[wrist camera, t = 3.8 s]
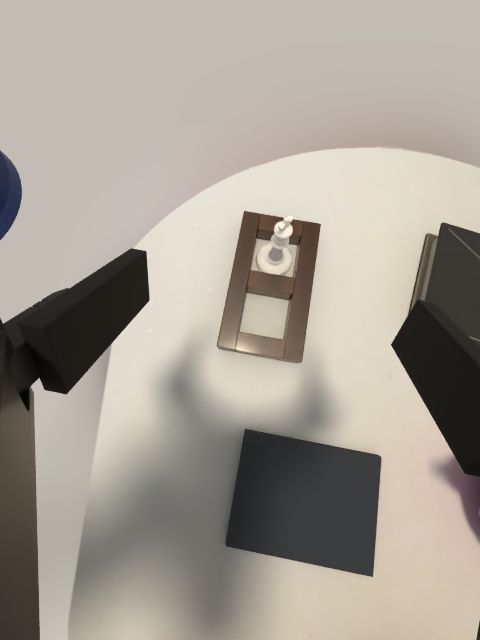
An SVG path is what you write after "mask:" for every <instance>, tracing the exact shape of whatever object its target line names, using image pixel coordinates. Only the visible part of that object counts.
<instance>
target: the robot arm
mask: <svg viewBox="0 0 480 640" xmlns="http://www.w3.org/2000/svg"><path fill="white" fill-rule="evenodd" d="M148 301H149V285H148V269H147V254H146V251H142V250H137V249H130V250H128V251H127V252H125V253H123V254H122V255H120V256H119V257H117V258H116V259H114V260H113V261H111V262H110V263H108V264H106V265H105V266H103V267H102V268H100V269H99V270H97V271H96V272H94V273H93V274H91V275H90V276H88V277H86V278H85V279H83V280H82V281H80V282H79V283H77V284H76V285H74V286H73V287H71V288H69V289H68V288H66V289H63V290H60V291H57V292H54V293H52V294H51V295H49V296H47V297H46V298H44V299H42V301H39V302H38V303H36V304H35V305H33V307H30V308H28V309H26V310H25V311H23V312H22V313H20V314H18V315H17V316H15V317H14V318H12V319H10V320H9V321H7V322H5V323H4V324H3V323H2V321H1V319H0V640H40V626H39V587H38V547H37V511H36V510H37V508H36V470H35V469H36V468H35V430H34V393H33V391H32V388H31V385H32V384H33V383H34V382H35V381H36V380H37V379H38V378H40V380H41V382H42V385H43V387H44V389H45V390H47V391H53V392H58V393H62V394H67V393H68V392H69V391H70V390H71V389H72V388H73V386H74V385H75V384H76V383H77V382H78V381H79V380H80V379H81V377H82V376H83V375H84V374H85V373H86V372H87V371H88V369H89V368H90V367H91V366H92V365H93V364H94V363H95V362H96V360H97V359H98V358H99V357H100V356H101V355H102V354H103V352H104V351H105V350H106V349H107V348H108V347H109V346H110V345H111V343H112V342H113V341H114V340H115V339H116V338H117V337H118V335H119V334H120V333H121V332H122V331H123V330H124V329H125V328H126V326H127V325H128V324H129V323H130V322H131V321H132V320H133V318H134V317H135V316H136V315H137V314H138V313H139V312H140V310H141V309H142V308H143V307H144V306H145V305H146V304H147V303H148ZM391 346H392V347H393V349H394V351H395V352H396V354H397V356H398V358H399V359H400V361H401V363H402V365H403V366H404V368H405V370H406V372H407V373H408V375H409V377H410V379H411V380H412V382H413V384H414V386H415V387H416V389H417V391H418V393H419V394H420V396H421V398H422V400H423V401H424V403H425V405H426V407H427V408H428V410H429V412H430V414H431V415H432V417H433V419H434V421H435V422H436V424H437V426H438V428H439V429H440V431H441V433H442V435H443V436H444V438H445V440H446V442H447V443H448V445H449V447H450V449H451V450H452V452H453V454H454V456H455V457H456V459H457V461H458V463H459V464H460V466H461V468H462V470H463V471H464V473H465V474H468V475H473V476H478V477H480V347H479V346H478V345H477V344H476V343H475V342H474V341H473V340H472V339H471V338H470V337H469V336H468V335H467V334H466V333H465V332H464V331H463V330H462V329H461V328H460V327H459V326H457V325H456V324H455V323H454V322H453V321H452V320H451V319H450V318H449V317H448V316H447V315H446V314H445V313H444V312H443V311H442V310H441V309H440V308H439V307H438V306H437V305H436V304H435V303H434V302H429V301H423V300H418V299H417V301H416V303H415V305H414V306H413V308H412V310H411V311H410V313H409V315H408V317H407V318H406V320H405V322H404V324H403V325H402V327H401V329H400V330H399V332H398V334H397V336H396V337H395V339H394V341H393V342H392V344H391ZM476 640H480V622H479V628H478V634H477V639H476Z"/></svg>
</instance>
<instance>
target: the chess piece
mask: <svg viewBox="0 0 480 640" xmlns="http://www.w3.org/2000/svg"><path fill="white" fill-rule="evenodd" d="M292 220H293V218H292V217H291V216H289V217H288V216H286V217H285V218H284V220H283V221H280V222H278V223H277V224H276V225H275V227H274V233H275V234H274V235H273V236H272V237H271V243H268V244H266V245H264V246H262V247H261V248H260V250H259V251H258V253H257V256H256V265H257V268H258V269H259V271H260V272H264V273H270V274H275V275H281V276H283V275H285V274H286V273H287V272H288V271H289V270H290V268H291V265H292V255H291V253H290V251H289V249H288V248H287V246H288V244H289V237H290V236H291V234H292V232H293V228H292V226H291V224H290V222H292Z"/></svg>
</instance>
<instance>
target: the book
mask: <svg viewBox="0 0 480 640" xmlns="http://www.w3.org/2000/svg"><path fill="white" fill-rule="evenodd" d="M417 299H418V300H423V301H429V302H434V303H435V304H436V305H437V306H438V307H439V308H440V309H441V310H442V311H443V312H444V313H445V314H446V315H447V316H448V317H449V318H450V319H451V320H452V321H453V322H454V323H455V324H456V325H457V326H459V327H460V328H461V329H462V330H463V331H464V332H465V333H466V334H467V335H468V336H469V337H470V338H471V339H472V340H473V341H474V342H475V343H476V344H477V345H478V346H479V347H480V233H476V232H473V231H470V230H467V229H463V228H460V227H457V226H453V225H450V224H447V223H441V226H440V231H439V235H438V236H435V235H432V234H429V233H428V234H427V235H426V239H425V243H424V248H423V252H422V257H421V261H420V266H419V270H418V275H417V279H416V284H415V288H414V293H413V297H412V302H411V306H410V311H411V310H412V308H413V306H414V305H415V303H416V301H417ZM410 311H409V313H410Z"/></svg>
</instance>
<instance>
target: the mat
mask: <svg viewBox="0 0 480 640" xmlns="http://www.w3.org/2000/svg"><path fill="white" fill-rule="evenodd" d="M380 469H381V457H380V456H379V455H375V454H370V453H365V452H360V451H355V450H350V449H345V448H340V447H334V446H329V445H324V444H319V443H314V442H309V441H304V440H299V439H294V438H288V437H283V436H278V435H273V434H268V433H263V432H258V431H253V430H248V429H245V433H244V438H243V444H242V450H241V456H240V462H239V468H238V474H237V479H236V485H235V491H234V497H233V503H232V509H231V515H230V520H229V526H228V532H227V538H226V546H228V547H233V548H238V549H242V550H247V551H252V552H257V553H261V554H266V555H271V556H276V557H280V558H285V559H290V560H295V561H299V562H304V563H309V564H314V565H318V566H323V567H328V568H333V569H337V570H342V571H347V572H352V573H356V574H361V575H366V576H371V577H373V568H374V554H375V540H376V526H377V512H378V498H379V484H380Z"/></svg>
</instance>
